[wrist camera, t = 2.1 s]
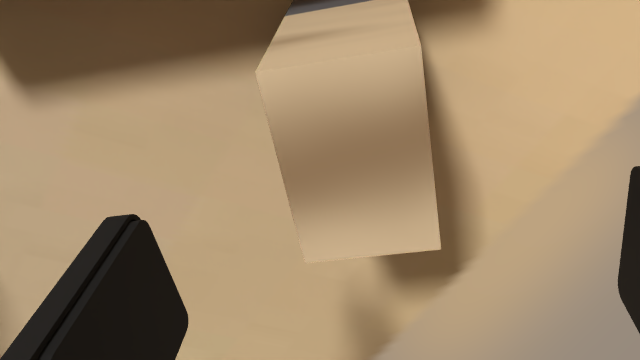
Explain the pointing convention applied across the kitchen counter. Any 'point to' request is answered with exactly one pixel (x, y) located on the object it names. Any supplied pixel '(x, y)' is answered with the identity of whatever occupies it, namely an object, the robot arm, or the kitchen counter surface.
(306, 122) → the beige upright block
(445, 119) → the kitchen counter surface
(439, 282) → the kitchen counter surface
